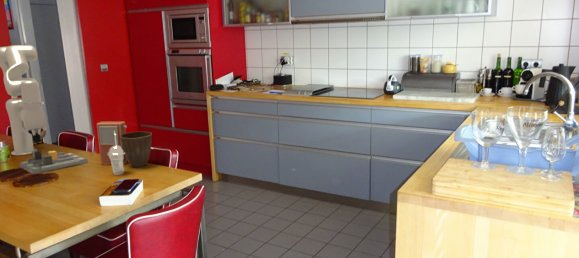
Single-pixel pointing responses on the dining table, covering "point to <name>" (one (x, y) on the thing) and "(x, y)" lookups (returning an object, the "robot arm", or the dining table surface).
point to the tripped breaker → (53, 155)
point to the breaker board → (50, 162)
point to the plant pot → (137, 147)
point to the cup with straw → (117, 157)
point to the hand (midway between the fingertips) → (37, 142)
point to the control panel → (109, 138)
